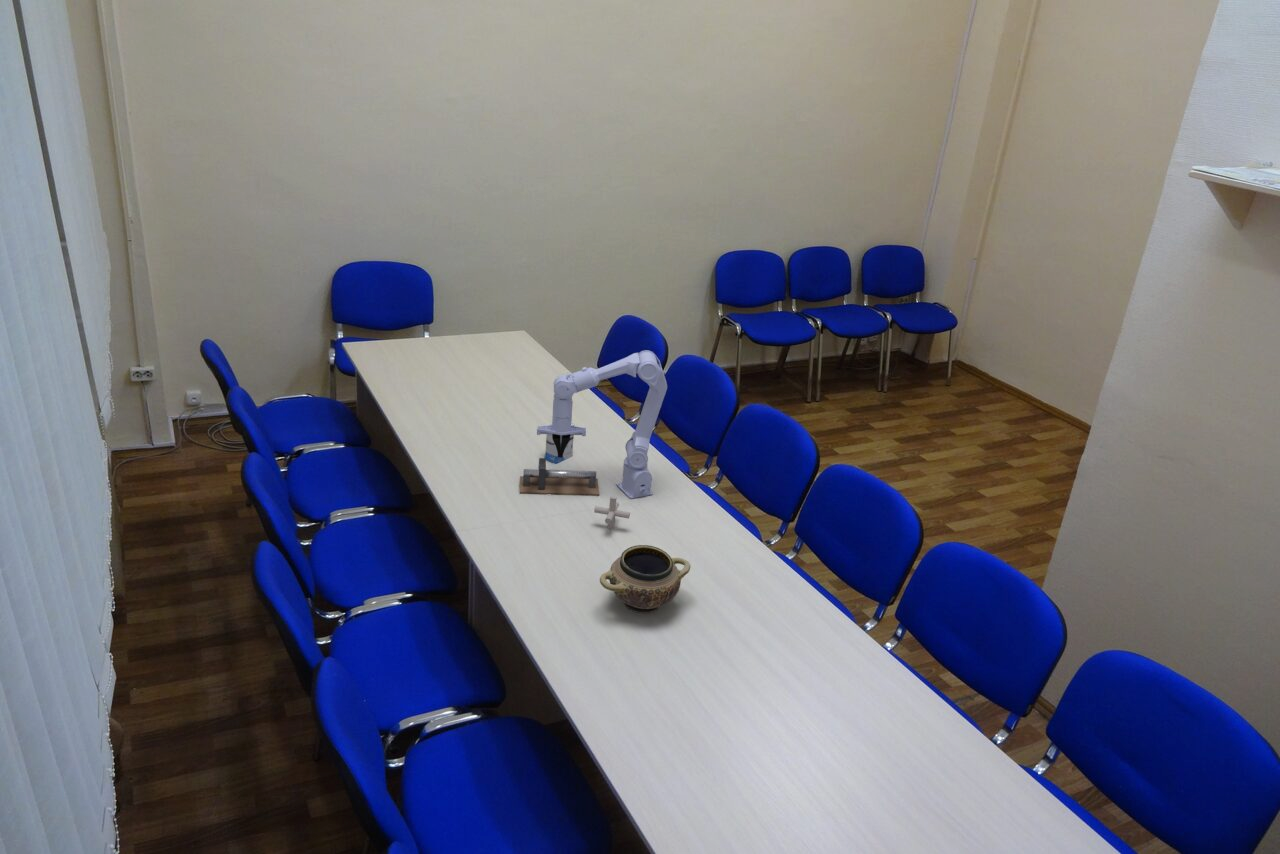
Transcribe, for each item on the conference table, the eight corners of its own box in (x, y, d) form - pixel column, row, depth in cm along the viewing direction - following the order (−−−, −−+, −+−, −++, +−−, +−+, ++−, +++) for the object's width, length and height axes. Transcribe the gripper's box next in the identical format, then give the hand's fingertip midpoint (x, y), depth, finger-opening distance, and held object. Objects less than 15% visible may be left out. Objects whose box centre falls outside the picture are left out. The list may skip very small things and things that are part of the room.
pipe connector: (624, 539, 258) (626, 508, 254) (589, 533, 260) (591, 502, 256) (631, 522, 267) (634, 492, 263) (598, 516, 269) (600, 486, 265)
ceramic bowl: (605, 635, 223) (615, 595, 214) (582, 581, 235) (591, 540, 226) (695, 618, 233) (709, 578, 224) (669, 566, 245) (681, 527, 236)
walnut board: (597, 480, 289) (597, 478, 288) (599, 495, 280) (599, 494, 280) (520, 477, 286) (520, 476, 285) (519, 493, 277) (519, 492, 276)
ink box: (555, 464, 296) (557, 431, 291) (544, 459, 299) (545, 426, 294) (573, 456, 302) (575, 423, 297) (561, 451, 305) (563, 418, 300)
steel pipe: (594, 483, 285) (595, 469, 283) (595, 488, 283) (596, 473, 280) (523, 481, 282) (523, 466, 280) (523, 486, 280) (523, 471, 278)
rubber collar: (544, 478, 285) (545, 458, 282) (544, 489, 279) (545, 468, 276) (538, 478, 285) (539, 458, 282) (538, 489, 278) (539, 468, 275)
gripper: (586, 410, 278) (583, 450, 283) (537, 408, 276) (535, 449, 282) (587, 420, 271) (584, 461, 277) (537, 418, 269) (536, 459, 275)
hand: (560, 455), depth 279 cm, fingers closed
